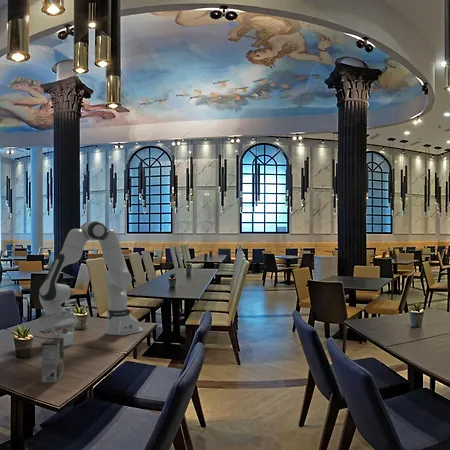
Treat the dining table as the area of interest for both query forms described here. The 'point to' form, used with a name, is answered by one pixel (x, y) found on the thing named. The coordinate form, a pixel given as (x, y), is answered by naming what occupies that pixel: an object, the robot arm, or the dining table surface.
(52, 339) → the coffee box
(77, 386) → the dining table surface
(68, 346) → the felt mat
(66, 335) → the perfume bottle
